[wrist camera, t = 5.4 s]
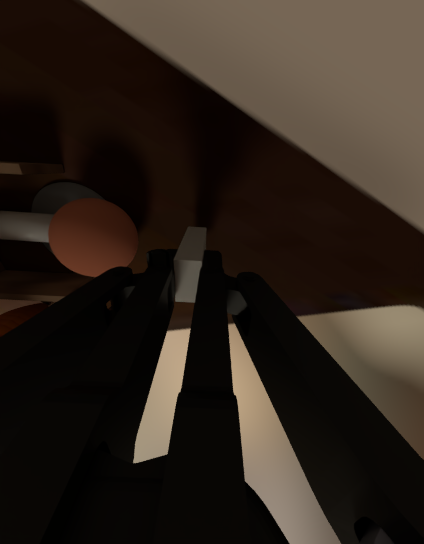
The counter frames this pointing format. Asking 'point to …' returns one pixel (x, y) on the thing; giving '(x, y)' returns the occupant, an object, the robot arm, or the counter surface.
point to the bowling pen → (33, 282)
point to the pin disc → (59, 198)
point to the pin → (24, 226)
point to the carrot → (19, 316)
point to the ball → (92, 236)
